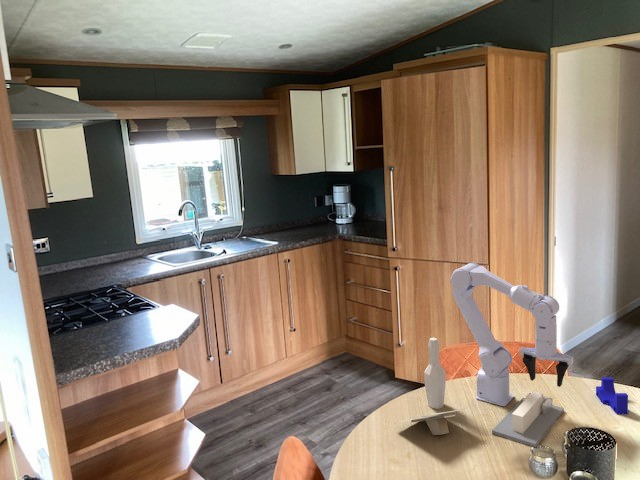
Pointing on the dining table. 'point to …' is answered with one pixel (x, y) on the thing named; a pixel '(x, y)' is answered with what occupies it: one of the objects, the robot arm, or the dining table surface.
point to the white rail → (527, 412)
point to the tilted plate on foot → (436, 421)
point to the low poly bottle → (434, 377)
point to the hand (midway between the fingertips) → (546, 382)
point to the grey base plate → (537, 426)
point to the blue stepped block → (612, 396)
